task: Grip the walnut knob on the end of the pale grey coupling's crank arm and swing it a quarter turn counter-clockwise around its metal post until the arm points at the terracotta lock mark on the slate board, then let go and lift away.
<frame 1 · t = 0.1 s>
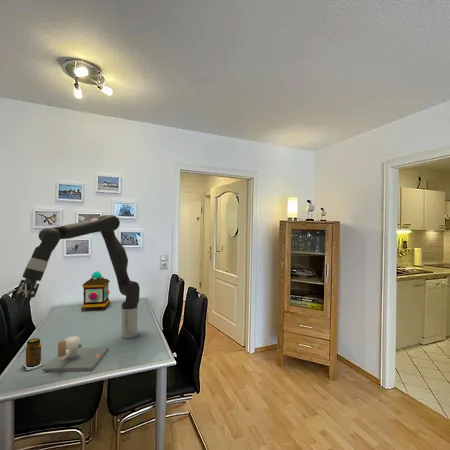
hand: (20, 304, 125), 31 cm above the table, tool tilted 20°, fingers open, 8 cm apart
twist lock: (68, 345, 135), point 9 cm above the table, hinge at 0.0°
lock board: (78, 359, 139), on the table
condiment: (33, 366, 133), on the table
decorative lantern: (96, 308, 227), on the table
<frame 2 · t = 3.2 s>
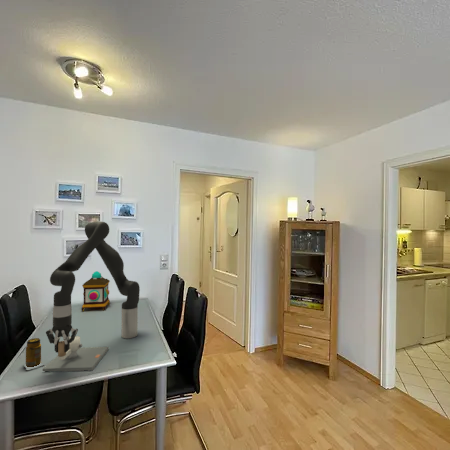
hand: (61, 351, 129), 9 cm above the table, tool pointing down, fingers closed on twist lock, 3 cm apart
twist lock: (68, 345, 135), point 9 cm above the table, hinge at 0.0°, touching gripper
everything else where it was.
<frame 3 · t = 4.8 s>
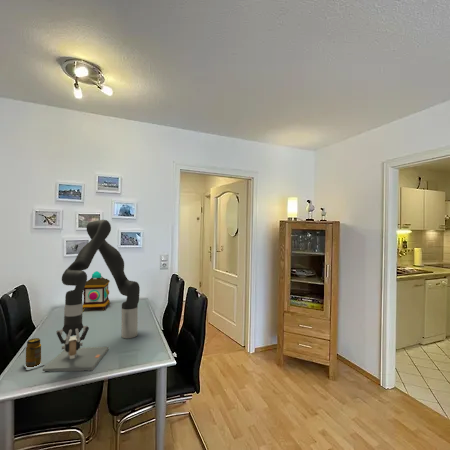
hand: (72, 350, 130), 9 cm above the table, tool pointing down, fingers closed on twist lock, 3 cm apart
twist lock: (72, 344, 135), point 9 cm above the table, hinge at 24.9°, touching gripper
everything else where it was.
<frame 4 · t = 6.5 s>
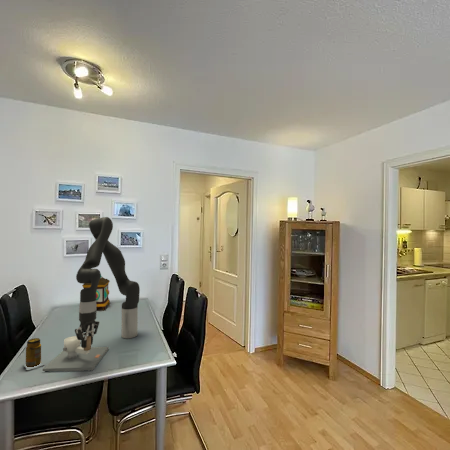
hand: (87, 345, 135), 9 cm above the table, tool pointing down, fingers closed on twist lock, 3 cm apart
twist lock: (78, 343, 138), point 9 cm above the table, hinge at 64.2°, touching gripper
everything else where it was.
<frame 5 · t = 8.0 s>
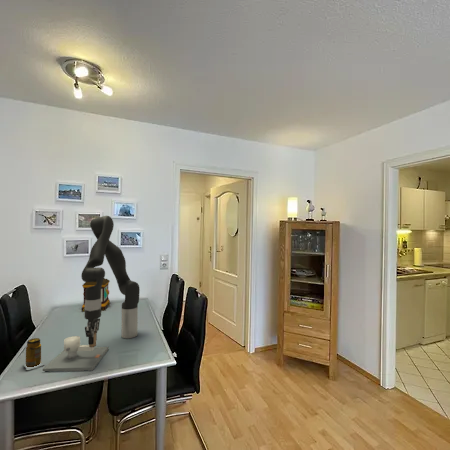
hand: (92, 342, 139), 9 cm above the table, tool pointing down, fingers closed on twist lock, 3 cm apart
twist lock: (80, 341, 139), point 9 cm above the table, hinge at 87.4°, touching gripper
everything else where it was.
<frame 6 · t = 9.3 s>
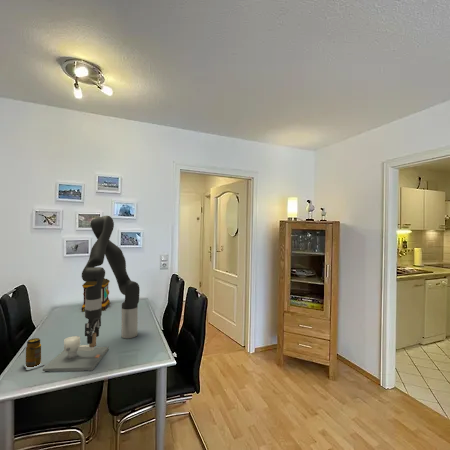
hand: (93, 339, 140), 10 cm above the table, tool pointing down, fingers open, 8 cm apart
twist lock: (80, 341, 139), point 9 cm above the table, hinge at 87.6°
everything else where it was.
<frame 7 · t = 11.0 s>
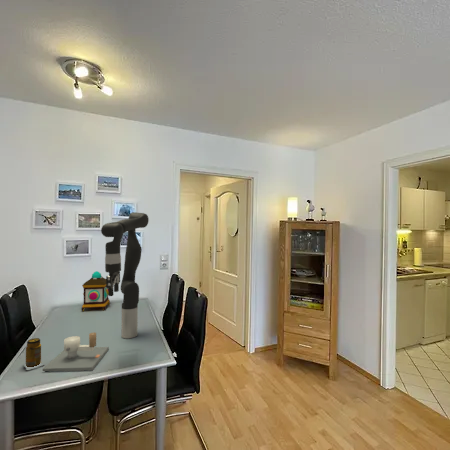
hand: (113, 293, 144), 32 cm above the table, tool pointing down, fingers open, 8 cm apart
nothing on the table moved.
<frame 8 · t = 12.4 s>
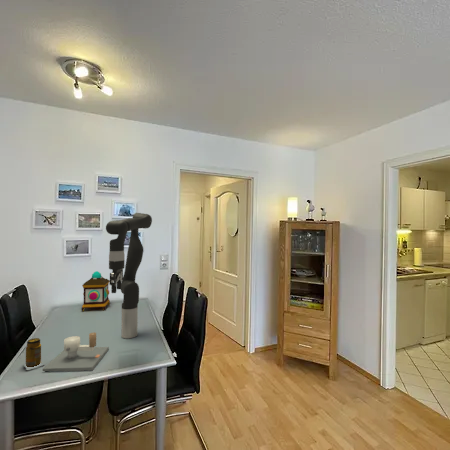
hand: (116, 291, 145), 33 cm above the table, tool pointing down, fingers open, 8 cm apart
nothing on the table moved.
at the end: twist lock at +88° (first picture: +0°); the gripper is holding nothing; condiment moved 0.3 cm from its start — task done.
